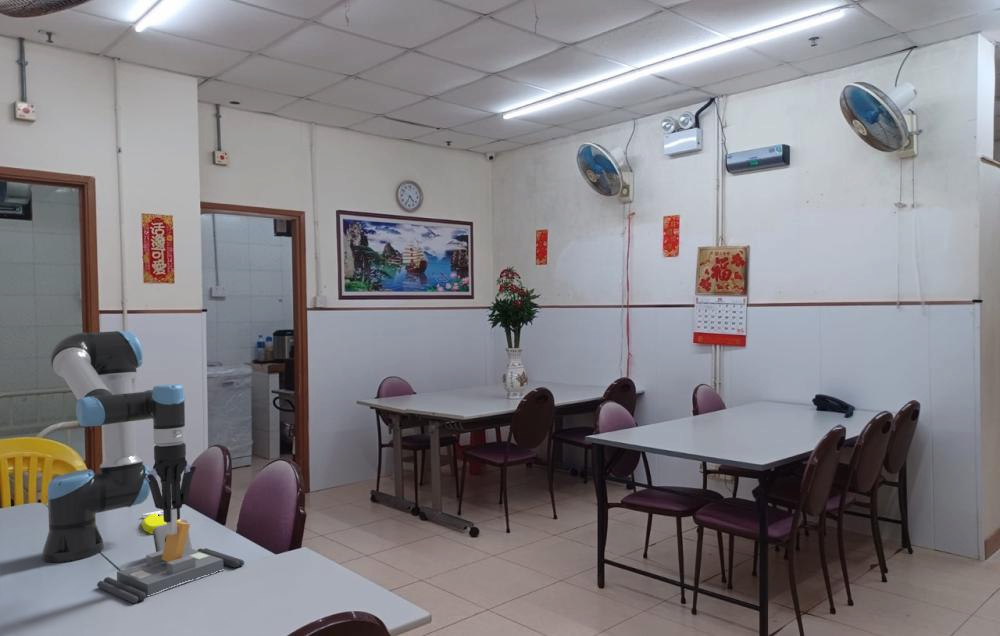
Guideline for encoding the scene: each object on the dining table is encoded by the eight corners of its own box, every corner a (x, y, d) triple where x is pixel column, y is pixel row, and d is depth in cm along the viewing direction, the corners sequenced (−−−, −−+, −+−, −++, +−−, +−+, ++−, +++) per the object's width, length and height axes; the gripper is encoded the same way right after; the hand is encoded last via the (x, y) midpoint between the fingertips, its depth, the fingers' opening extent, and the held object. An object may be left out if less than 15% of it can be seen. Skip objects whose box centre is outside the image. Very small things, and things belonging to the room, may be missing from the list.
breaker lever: (160, 561, 181) (170, 520, 184) (167, 561, 183) (177, 520, 185) (173, 566, 177) (183, 524, 180) (180, 566, 179) (190, 524, 181)
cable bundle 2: (196, 556, 195) (196, 549, 195) (207, 553, 198) (207, 546, 198) (234, 569, 184) (234, 562, 184) (246, 565, 187) (245, 558, 187)
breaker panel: (117, 583, 177) (116, 562, 177) (191, 559, 193) (190, 540, 193) (148, 596, 167) (147, 574, 167) (223, 570, 183) (222, 550, 183)
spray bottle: (147, 537, 216) (134, 521, 236) (185, 529, 223) (168, 514, 242) (147, 527, 216) (133, 512, 236) (184, 520, 223) (168, 506, 242)
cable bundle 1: (97, 588, 174) (96, 580, 174) (111, 583, 177) (111, 576, 177) (133, 605, 163) (133, 596, 163) (148, 600, 165) (147, 591, 165)
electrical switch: (160, 561, 192) (157, 528, 193) (151, 559, 196) (149, 526, 196) (192, 552, 200) (190, 519, 200) (184, 550, 203) (181, 518, 203)
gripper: (152, 448, 173) (154, 542, 173) (200, 440, 183) (203, 529, 183) (137, 446, 178) (140, 537, 177) (186, 438, 188) (188, 525, 188)
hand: (172, 533), depth 180 cm, fingers closed
